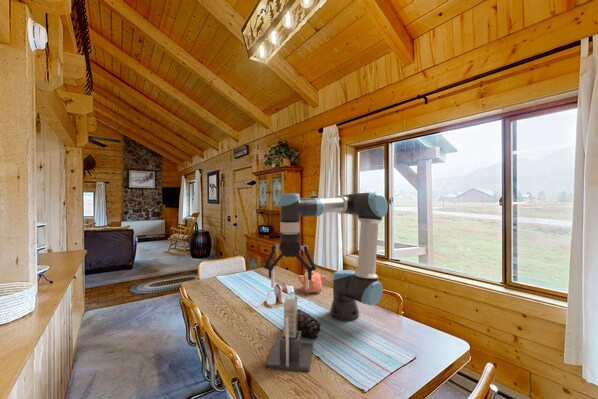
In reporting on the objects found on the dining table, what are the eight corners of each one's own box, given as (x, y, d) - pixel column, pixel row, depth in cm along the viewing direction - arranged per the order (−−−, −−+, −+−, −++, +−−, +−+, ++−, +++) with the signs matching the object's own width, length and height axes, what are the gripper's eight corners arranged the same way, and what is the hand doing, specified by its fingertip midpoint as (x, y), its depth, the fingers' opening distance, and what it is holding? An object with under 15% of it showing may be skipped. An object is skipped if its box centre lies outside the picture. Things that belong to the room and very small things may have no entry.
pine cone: (317, 343, 115) (316, 320, 115) (282, 333, 124) (282, 311, 124) (327, 332, 124) (326, 311, 124) (294, 323, 133) (293, 303, 133)
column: (297, 349, 107) (297, 299, 107) (295, 357, 102) (295, 304, 101) (286, 348, 107) (286, 298, 107) (283, 356, 102) (283, 304, 102)
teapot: (313, 297, 167) (313, 276, 167) (295, 291, 178) (295, 271, 178) (329, 290, 179) (329, 271, 179) (311, 285, 190) (311, 267, 190)
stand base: (313, 347, 112) (312, 301, 112) (309, 371, 96) (309, 318, 96) (275, 344, 114) (275, 299, 114) (265, 368, 98) (265, 316, 98)
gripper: (322, 232, 107) (322, 285, 107) (261, 231, 110) (261, 282, 110) (321, 234, 99) (321, 291, 99) (256, 233, 102) (256, 289, 102)
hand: (290, 287), depth 105 cm, fingers open, 13 cm apart
